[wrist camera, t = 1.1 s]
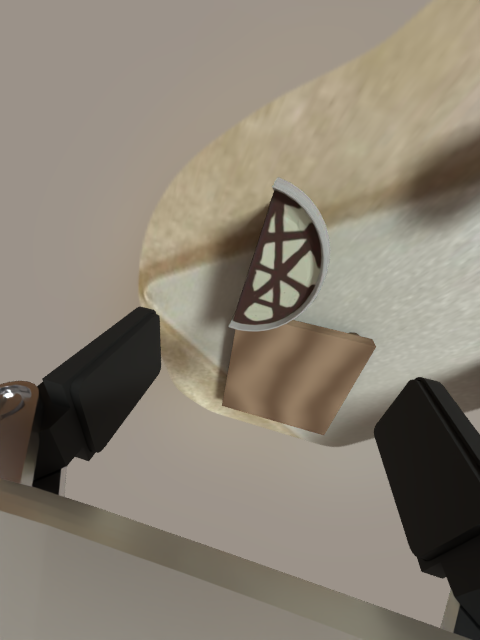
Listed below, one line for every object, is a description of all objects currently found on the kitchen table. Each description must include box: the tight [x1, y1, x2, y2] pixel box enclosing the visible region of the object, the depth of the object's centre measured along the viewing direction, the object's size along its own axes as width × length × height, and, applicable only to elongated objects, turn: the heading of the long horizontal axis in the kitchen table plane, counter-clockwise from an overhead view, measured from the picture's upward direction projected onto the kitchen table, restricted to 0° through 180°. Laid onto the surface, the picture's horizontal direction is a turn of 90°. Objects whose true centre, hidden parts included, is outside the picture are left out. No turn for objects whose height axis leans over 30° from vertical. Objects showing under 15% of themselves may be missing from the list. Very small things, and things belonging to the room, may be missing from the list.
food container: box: [229, 177, 330, 331], centre depth 22 cm, size 12×6×10 cm, turn 164°
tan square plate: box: [222, 320, 376, 435], centre depth 32 cm, size 16×17×3 cm
